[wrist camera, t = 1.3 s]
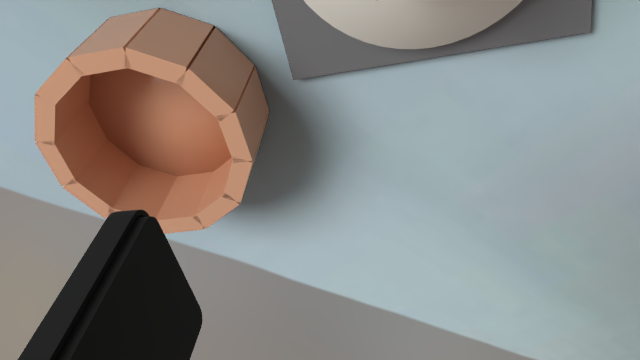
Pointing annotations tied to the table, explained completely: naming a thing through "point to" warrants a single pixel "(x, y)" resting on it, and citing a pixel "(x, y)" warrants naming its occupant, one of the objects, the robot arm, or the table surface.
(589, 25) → the mat
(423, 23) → the lid
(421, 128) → the table surface
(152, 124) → the bowl
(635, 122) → the table surface
